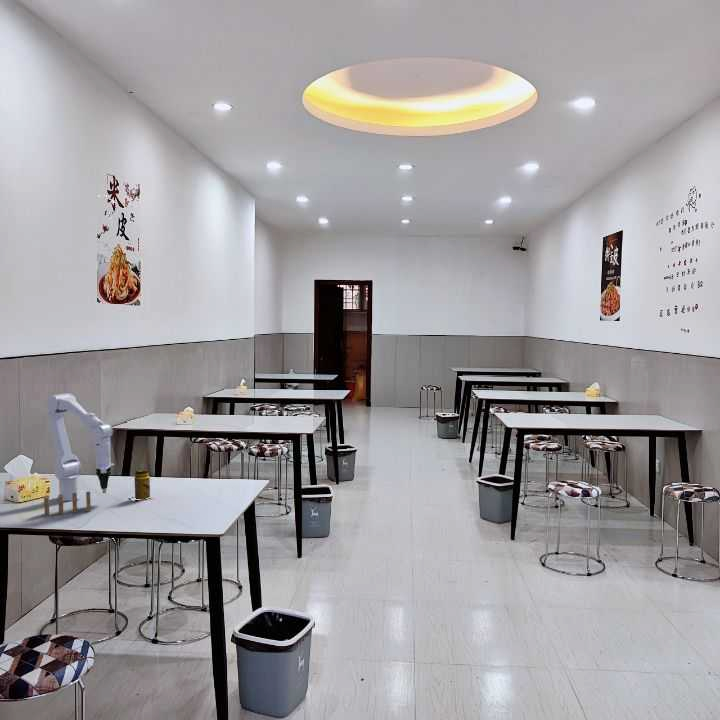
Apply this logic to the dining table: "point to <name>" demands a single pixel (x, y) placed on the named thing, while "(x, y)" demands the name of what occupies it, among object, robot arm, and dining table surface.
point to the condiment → (142, 484)
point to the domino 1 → (46, 505)
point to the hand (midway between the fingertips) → (104, 487)
